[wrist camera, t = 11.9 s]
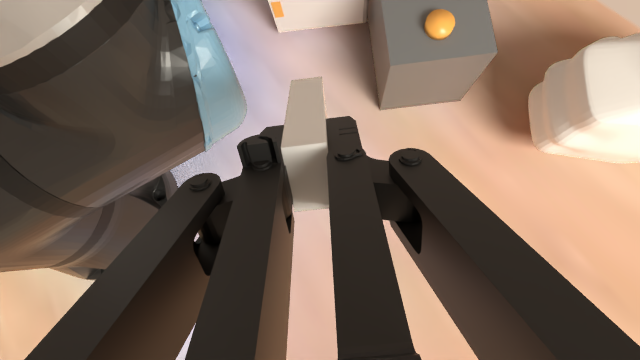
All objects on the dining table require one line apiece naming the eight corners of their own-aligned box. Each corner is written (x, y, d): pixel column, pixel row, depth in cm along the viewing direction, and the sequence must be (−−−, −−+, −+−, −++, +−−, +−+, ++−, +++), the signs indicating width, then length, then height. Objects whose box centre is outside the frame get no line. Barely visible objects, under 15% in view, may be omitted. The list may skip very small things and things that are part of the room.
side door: (366, 15, 40) (371, -39, 33) (367, 22, 40) (372, -31, 32) (278, 26, 41) (261, -25, 33) (278, 33, 41) (262, -17, 33)
